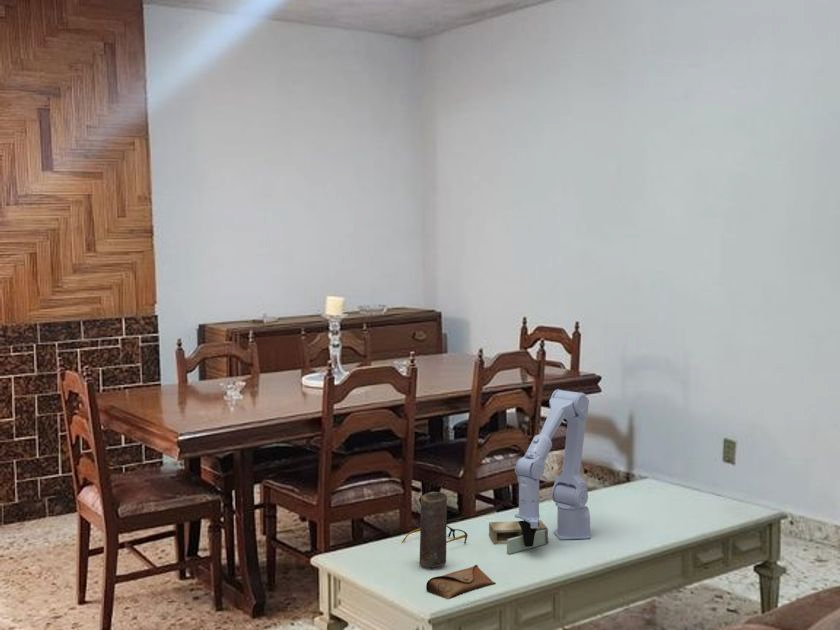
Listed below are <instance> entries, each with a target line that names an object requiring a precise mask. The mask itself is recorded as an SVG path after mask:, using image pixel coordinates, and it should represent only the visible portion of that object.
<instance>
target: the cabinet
mask: <svg viewBox="0 0 840 630" xmlns="http://www.w3.org/2000/svg"><path fill="white" fill-rule="evenodd" d="M519 521H520V520H513V521H509V520H508V521H490V522H489V523H488V536H489V539H490V540H491V541H492V543H493V545H507V539H510V538H514V537H518V536H521V535H523V533H522V530H521V527H520V525H519V523H518V522H519ZM538 522H539V527H538V528H537V530H536V531H540V530H545V529H548V527H547V526H546V524H545V523H544V522H543V520H542V519H539V520H538Z"/></svg>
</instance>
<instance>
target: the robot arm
mask: <svg viewBox="0 0 840 630" xmlns="http://www.w3.org/2000/svg"><path fill="white" fill-rule="evenodd" d="M589 403H590V400H589V398H588V397H587V395H586V393H584V392H576V391H571V390H570V391H569V390H562V389H559V388H557V389H555V390H554V391H553V393H552V394H551V396H550V399H549V401H548V404H549V412H548V414H547V416H546V419H545V422H544V424H543V426H542V428H541V431H540V432H539V434H536V435H534V436H533V439H532V441H531V442H530V444H529V446H528V448H527V449H526V451H525V453H524V456H522V457H520V458H519V459H518V460H517V461H516V464H515V467H514V472H515V474H516V476H517V477H516V478H517V483H518V491H519V492H518V513H515V514H514V518H515V519H521V520H518V521H519V522H518V523H519V525H520V527H521V530H522V533H523V540H524V545H525V547H532V546H533V543H534V536H535V533H536V530H537V528H538V527H539V522H538V520H540V517H541V516H540V479H541V478H542V477H543V475H544V472H545V466H546V458H547V456H548V455H549V453H550V451H551V449H552V447H553V442H552V438H553V437H554V436H555V433H556V432H557V430H558V429H559V427H560V425H561V424H562V422H563V421H564V420H566V423H567V424H566V435H565V443H564V454H563V455H564V456H563V463H562V473H561V474H560V475H558V476H557V477H555V479H554V484H553V487H552V490H551V498H552V499H551V500H552V501H553V502H554V504H555V507H557V517H556V518H557V519H556V520H557V523H556V526H557V527H556V528H557V529H554V530H553V533H554V534H555V535H556V538H558V539H559V540H561V541H562V540H564V541H565V540H585V539H591V513H590V509H589V507H588V506H586V505H587V502H588V500H589V494H588V483H587V481H586V480H585V479H584V478H583V477H582V476H581V469H582V462H583V461H582V460H583V459H582V458H583V452H584V451H583V450H584V442H585V441H584V440H585V432H586V431H585V430H586V421H587V420H588V413H589V406H590V405H589ZM532 548H533V547H532Z"/></svg>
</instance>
